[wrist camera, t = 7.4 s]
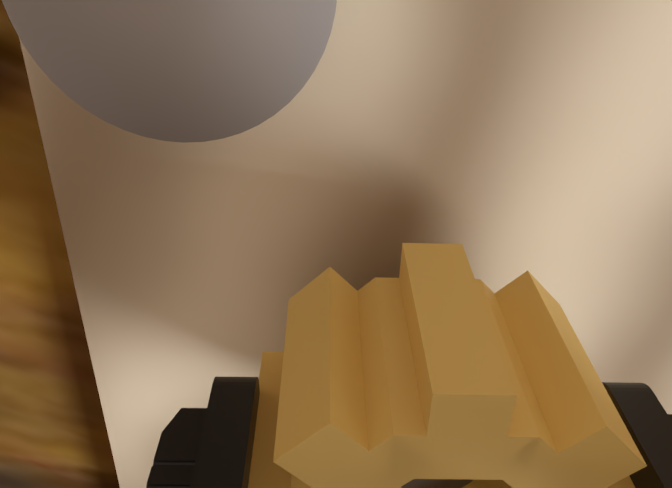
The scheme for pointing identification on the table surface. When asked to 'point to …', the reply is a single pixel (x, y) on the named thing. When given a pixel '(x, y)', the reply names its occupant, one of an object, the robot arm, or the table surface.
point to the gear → (434, 387)
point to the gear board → (346, 173)
